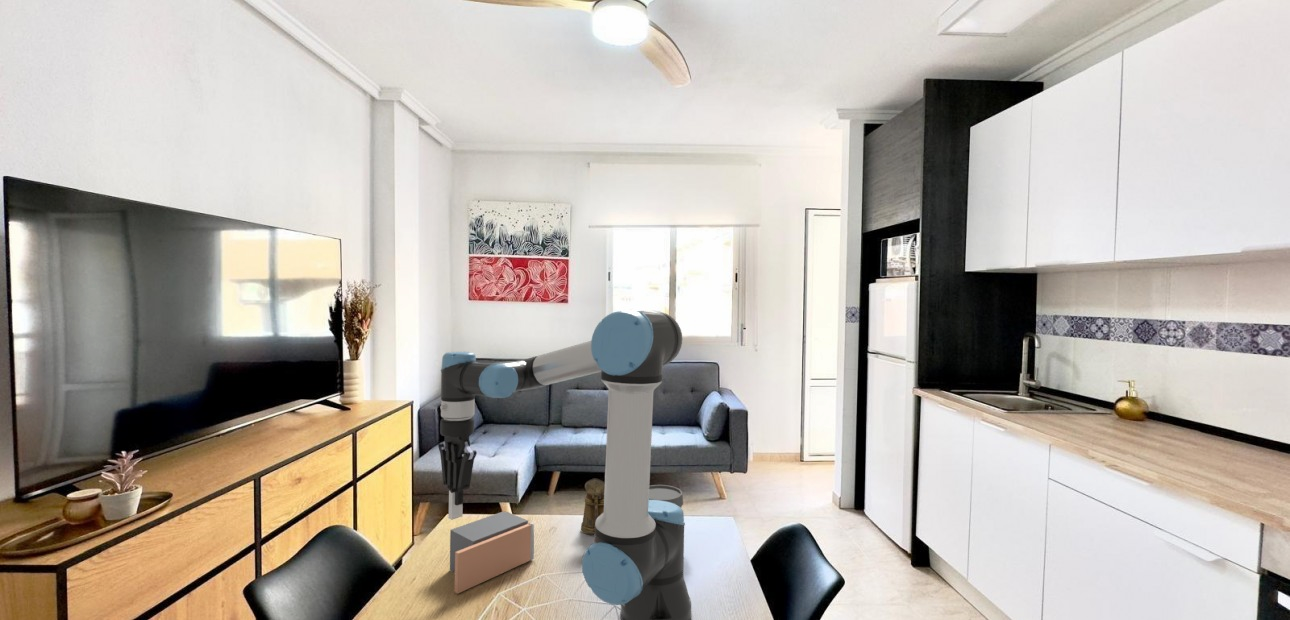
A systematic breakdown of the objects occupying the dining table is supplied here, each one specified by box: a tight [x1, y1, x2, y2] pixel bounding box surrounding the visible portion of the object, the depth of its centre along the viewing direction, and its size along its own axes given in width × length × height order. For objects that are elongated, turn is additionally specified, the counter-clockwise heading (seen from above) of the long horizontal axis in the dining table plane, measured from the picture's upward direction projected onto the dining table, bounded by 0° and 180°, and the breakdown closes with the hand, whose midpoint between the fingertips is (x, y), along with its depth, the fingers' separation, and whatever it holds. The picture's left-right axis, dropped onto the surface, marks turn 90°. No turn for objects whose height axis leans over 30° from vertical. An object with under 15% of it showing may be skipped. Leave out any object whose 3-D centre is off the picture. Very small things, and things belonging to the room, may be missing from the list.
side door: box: [454, 522, 535, 594], centre depth 123 cm, size 2×22×9 cm, turn 141°
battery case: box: [449, 510, 529, 574], centre depth 129 cm, size 10×16×10 cm, turn 141°
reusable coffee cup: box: [649, 484, 684, 509], centre depth 140 cm, size 13×13×15 cm
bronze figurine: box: [580, 477, 605, 536], centre depth 149 cm, size 9×14×18 cm, turn 2°
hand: (455, 517), depth 120 cm, fingers closed
